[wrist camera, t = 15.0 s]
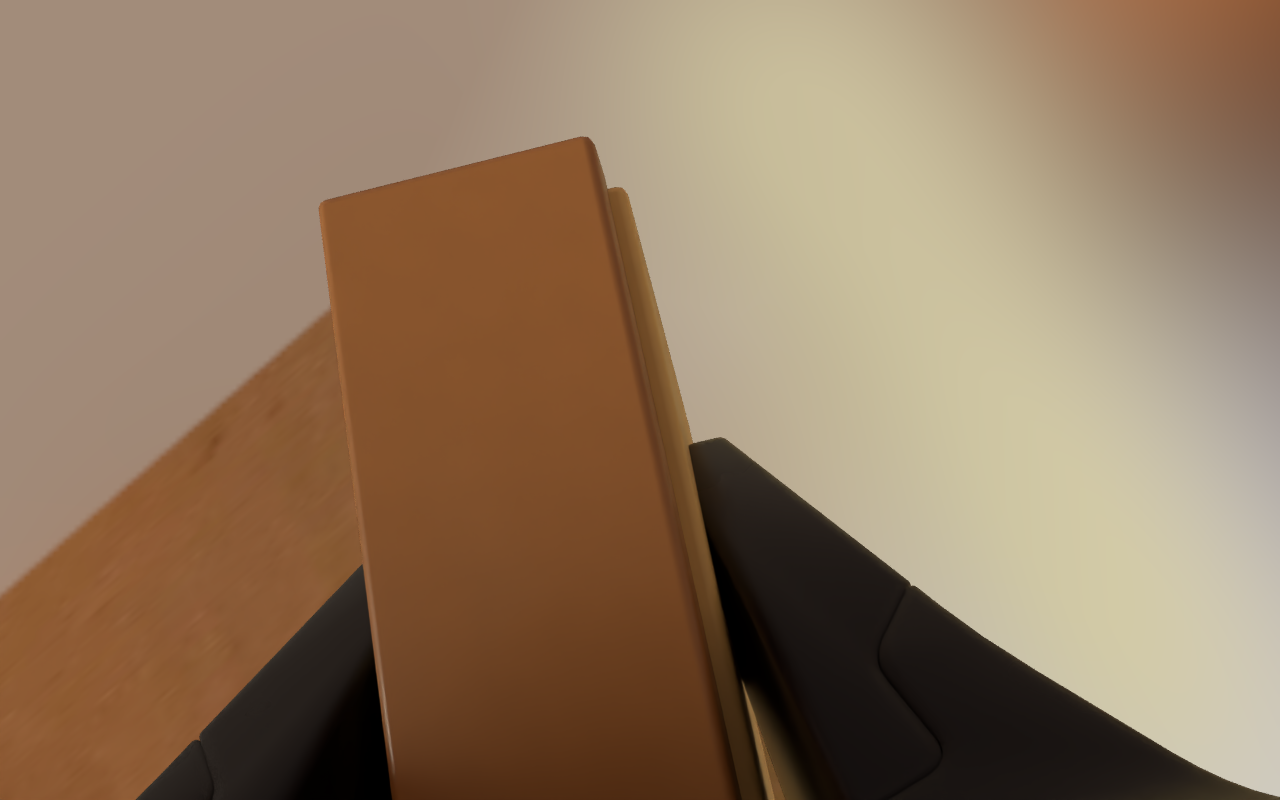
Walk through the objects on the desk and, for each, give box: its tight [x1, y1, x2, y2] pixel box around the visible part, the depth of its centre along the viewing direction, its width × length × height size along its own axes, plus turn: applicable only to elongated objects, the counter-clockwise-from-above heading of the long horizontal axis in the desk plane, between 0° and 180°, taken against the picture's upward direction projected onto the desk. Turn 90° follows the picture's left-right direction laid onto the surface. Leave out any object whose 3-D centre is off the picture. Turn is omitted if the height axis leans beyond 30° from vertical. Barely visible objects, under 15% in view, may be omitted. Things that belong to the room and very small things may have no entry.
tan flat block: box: [319, 137, 775, 800], centre depth 11 cm, size 7×2×10 cm, turn 12°
